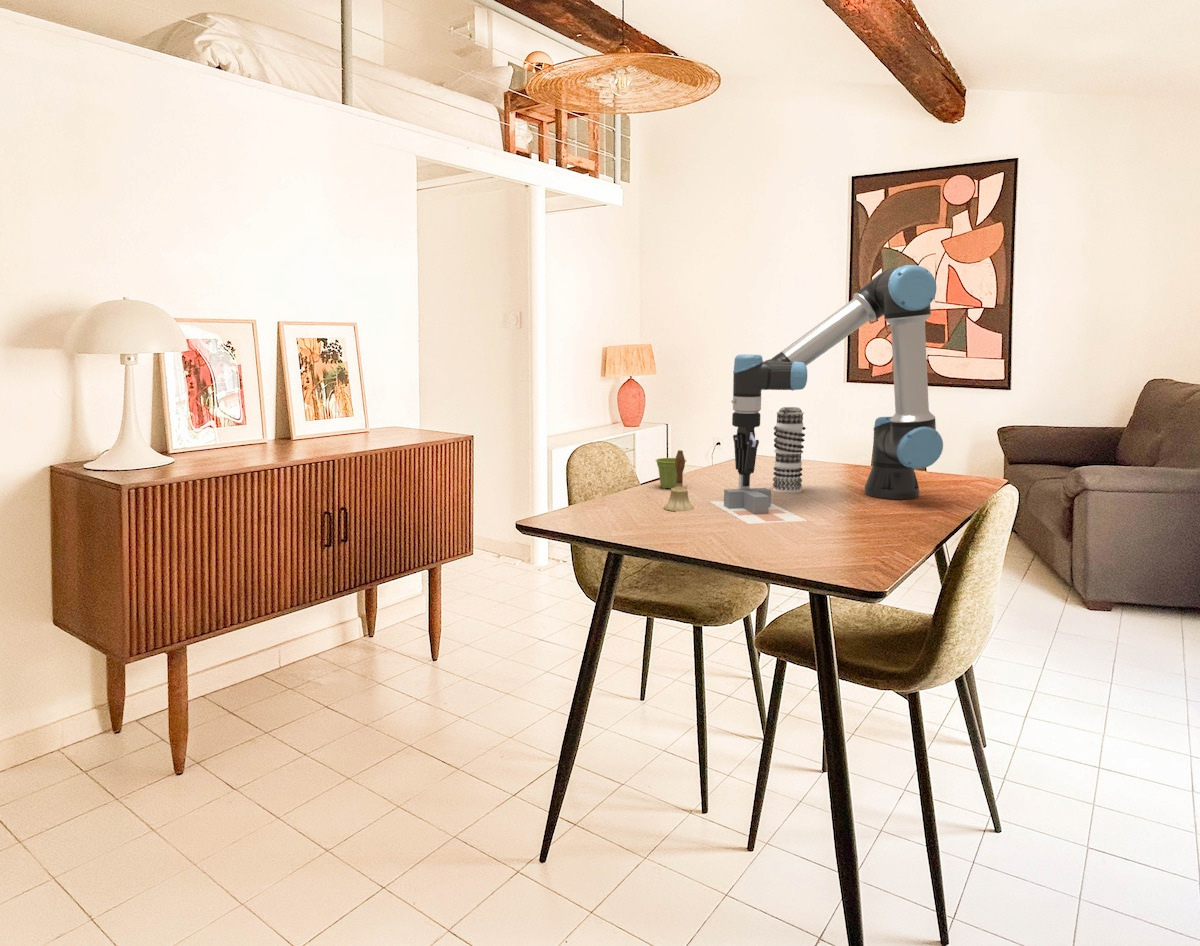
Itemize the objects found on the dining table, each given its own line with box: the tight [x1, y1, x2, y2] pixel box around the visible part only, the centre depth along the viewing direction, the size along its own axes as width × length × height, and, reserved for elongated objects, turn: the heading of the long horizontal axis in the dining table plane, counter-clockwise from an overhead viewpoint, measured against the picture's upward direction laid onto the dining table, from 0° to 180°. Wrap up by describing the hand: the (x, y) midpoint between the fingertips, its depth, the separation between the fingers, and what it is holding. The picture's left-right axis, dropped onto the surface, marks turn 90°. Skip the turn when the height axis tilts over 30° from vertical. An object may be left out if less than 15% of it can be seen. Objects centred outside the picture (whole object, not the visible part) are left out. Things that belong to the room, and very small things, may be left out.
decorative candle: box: [772, 406, 807, 494], centre depth 250 cm, size 9×9×25 cm
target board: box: [710, 500, 808, 525], centre depth 222 cm, size 16×28×1 cm, turn 12°
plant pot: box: [655, 457, 687, 489], centre depth 256 cm, size 9×9×9 cm
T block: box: [723, 487, 772, 514], centre depth 224 cm, size 12×12×4 cm
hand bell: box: [663, 449, 695, 512], centre depth 225 cm, size 8×8×16 cm
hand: (743, 497), depth 230 cm, fingers closed
